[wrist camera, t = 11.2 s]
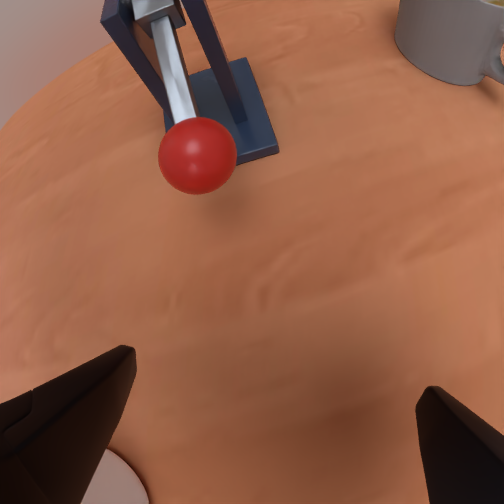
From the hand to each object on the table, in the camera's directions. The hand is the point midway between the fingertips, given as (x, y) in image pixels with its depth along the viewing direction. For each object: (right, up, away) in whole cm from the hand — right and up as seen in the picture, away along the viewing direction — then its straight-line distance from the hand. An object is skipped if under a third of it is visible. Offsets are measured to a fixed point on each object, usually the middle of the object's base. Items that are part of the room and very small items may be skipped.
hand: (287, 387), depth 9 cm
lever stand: (-4, +15, +16) cm, 22 cm away
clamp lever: (-5, +13, +7) cm, 15 cm away
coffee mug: (+18, +22, +14) cm, 32 cm away
